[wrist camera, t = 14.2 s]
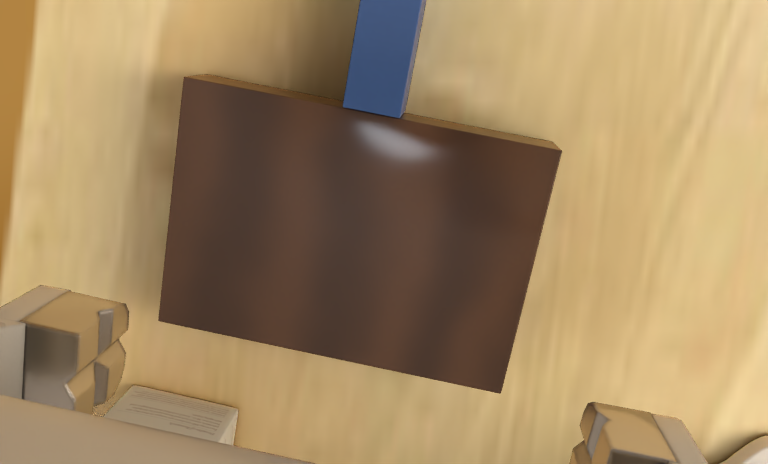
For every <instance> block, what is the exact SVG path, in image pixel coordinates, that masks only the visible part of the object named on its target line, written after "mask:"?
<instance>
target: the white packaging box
mask: <svg viewBox="0 0 768 464" xmlns="http://www.w3.org/2000/svg"><path fill="white" fill-rule="evenodd" d="M103 417H106V418H110V419H115V420H119V421H124V422H128V423H133V424H137V425H142V426H147V427H151V428H156V429H160V430H165V431H169V432H174V433H178V434H183V435H188V436H192V437H197V438H201V439H206V440H210V441H215V442H219V443H224V444H229V445H233V444H234V437H235V431H236V424H237V417H238V409H237V408H233V407H230V406H225V405H221V404H217V403H213V402H208V401H204V400H200V399H196V398H191V397H187V396H183V395H179V394H174V393H169V392H165V391H161V390H156V389H152V388H147V387H142V386H136V385H133V386H132V387H130V388H129V389H128V391H127V392H126V393H125V394H124V395H123V396H122V397H121V398H120V399H119V400H118V401H117V402H116V403H115V404H114V405H113V406H112V407H111V409H110V410H109V411H108V412H107V413H106V414H105V415H104V416H103Z"/></svg>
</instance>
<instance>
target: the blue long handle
mask: <svg viewBox="0 0 768 464" xmlns="http://www.w3.org/2000/svg"><path fill="white" fill-rule="evenodd" d="M425 5H426V0H360V4H359V10H358V16H357V22H356V28H355V34H354V40H353V46H352V52H351V58H350V64H349V70H348V76H347V82H346V88H345V94H344V100H343V107H344V108H350V109H355V110H360V111H365V112H370V113H375V114H380V115H385V116H390V117H395V118H400V117H401V116H402V114H403V113H404V112H405V110H406V104H407V99H408V94H409V89H410V83H411V78H412V73H413V68H414V62H415V57H416V52H417V47H418V41H419V36H420V31H421V26H422V20H423V15H424V10H425Z"/></svg>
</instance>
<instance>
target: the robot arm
mask: <svg viewBox="0 0 768 464" xmlns="http://www.w3.org/2000/svg"><path fill="white" fill-rule="evenodd" d="M128 320H129V311H128V308H127V306H126V304H124V303H120V302H115V301H111V300H106V299H102V298H98V297H93V296H89V295H85V294H80V293H76V292H71V291H70V290H66V289H61V288H55V287H50V286H44V285H40V286H38V287H36V288H34V289H32V290H31V291H29V292H27V293H25V294H23V295H22V296H20V297H18V298H16V299H15V300H13V301H11V302H9V303H7V304H6V305H4V306H2V307H0V464H315V463H311V462H306V461H301V460H297V459H292V458H288V457H283V456H279V455H274V454H270V453H265V452H260V451H256V450H251V449H247V448H242V447H238V446H233V445H229V444H224V443H219V442H215V441H210V440H206V439H201V438H197V437H192V436H188V435H183V434H178V433H174V432H169V431H165V430H160V429H156V428H151V427H147V426H142V425H137V424H133V423H128V422H124V421H119V420H115V419H110V418H106V417H101V416H96V415H93V406H97V405H100V404H103V403H106V402H107V401H108V400H109V399H110V398H111V396H112V395H113V394H114V393H115V391H116V389H117V387H118V385H119V383H120V381H121V378H122V374H123V370H124V366H125V357H126V352H125V350H124V348H123V346H122V345H121V343H120V341H119V338H120V337H121V336H122V335H123V334H124V333H125V332H126V331H127V330H128ZM580 428H581V431H582V434H583V438H584V440H583V441H582V442H581V443H580V444H578V445H577V446H576V447H574V448H573V451H572V455H571V459H570V463H569V464H708V463H707V461H706V459H705V458H704V456H703V455H702V453H701V451H700V450H699V448H698V446H697V445H696V443H695V441H694V440H693V438H692V437H691V435H690V433H689V432H688V430H687V428H686V427H685V425H684V423H683V422H682V420H679V419H677V418H673V417H668V416H662V415H656V414H651V413H650V412H644V411H639V410H634V409H628V408H623V407H618V406H612V405H607V404H602V403H596V402H591V403H588V404H587V406H586V409H585V411H584V413H583V416H582V420H581V423H580ZM719 464H768V435H766V436H762V437H759V438H757V439H755V440H753V441H751V442H750V443H748V444H747V445H745V446H744V447H742V448H741V449H740V450H738V451H737V452H736V453H734V454H733V455H732V456H731V457H729V458H728V459H727V460H726V461H723V462H721V463H719Z"/></svg>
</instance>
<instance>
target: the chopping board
mask: <svg viewBox="0 0 768 464" xmlns="http://www.w3.org/2000/svg"><path fill="white" fill-rule="evenodd" d="M561 153H562V150H561V149H560V148H558V147H557V146H556V145H555V144H554V143H553V142H551V141H546V140H541V139H536V138H531V137H525V136H520V135H515V134H510V133H505V132H500V131H495V130H489V129H484V128H479V127H474V126H469V125H464V124H459V123H454V122H448V121H443V120H438V119H433V118H428V117H423V116H418V115H413V114H407V113H403V114H402V116H401V117H400V118H395V117H390V116H385V115H380V114H375V113H370V112H365V111H360V110H355V109H350V108H344V107H343V101H341V100H336V99H330V98H325V97H320V96H315V95H310V94H305V93H300V92H295V91H289V90H284V89H279V88H274V87H269V86H264V85H259V84H254V83H248V82H243V81H238V80H233V79H228V78H223V77H218V76H212V75H207V74H206V75H196V76H187V77H184V81H183V90H182V100H181V109H180V119H179V128H178V138H177V148H176V157H175V167H174V176H173V186H172V195H171V205H170V215H169V224H168V234H167V243H166V253H165V262H164V272H163V282H162V291H161V301H160V310H159V321H161V322H166V323H171V324H175V325H180V326H185V327H190V328H194V329H199V330H204V331H208V332H213V333H218V334H222V335H227V336H232V337H237V338H241V339H246V340H251V341H255V342H260V343H265V344H270V345H274V346H279V347H284V348H288V349H293V350H298V351H302V352H307V353H312V354H317V355H321V356H326V357H331V358H335V359H340V360H345V361H350V362H354V363H359V364H364V365H368V366H373V367H378V368H382V369H387V370H392V371H397V372H401V373H406V374H411V375H415V376H420V377H425V378H430V379H434V380H439V381H444V382H448V383H453V384H458V385H462V386H467V387H472V388H477V389H481V390H486V391H491V392H495V393H501V391H502V387H503V383H504V379H505V375H506V371H507V367H508V363H509V359H510V355H511V351H512V347H513V343H514V339H515V335H516V332H517V328H518V324H519V320H520V316H521V312H522V308H523V304H524V300H525V296H526V292H527V288H528V284H529V280H530V276H531V272H532V268H533V264H534V260H535V256H536V252H537V248H538V244H539V240H540V236H541V232H542V228H543V224H544V221H545V217H546V213H547V209H548V205H549V201H550V197H551V193H552V189H553V185H554V181H555V177H556V173H557V169H558V165H559V161H560V157H561Z"/></svg>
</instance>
